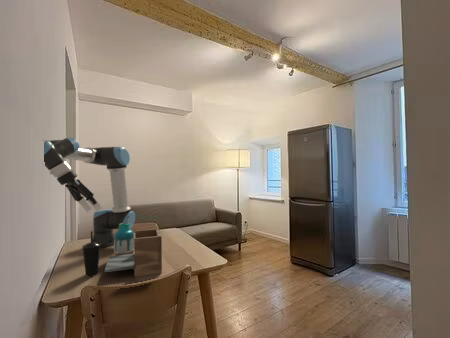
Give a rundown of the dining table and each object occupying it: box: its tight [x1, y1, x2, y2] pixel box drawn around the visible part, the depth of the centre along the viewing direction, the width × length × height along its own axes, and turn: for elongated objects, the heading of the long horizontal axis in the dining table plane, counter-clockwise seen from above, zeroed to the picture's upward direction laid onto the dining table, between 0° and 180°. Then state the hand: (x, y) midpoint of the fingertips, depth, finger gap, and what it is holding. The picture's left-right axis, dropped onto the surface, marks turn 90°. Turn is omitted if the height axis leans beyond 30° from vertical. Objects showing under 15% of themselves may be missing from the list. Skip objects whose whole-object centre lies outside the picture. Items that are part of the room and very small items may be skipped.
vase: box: [113, 223, 135, 256], centre depth 135 cm, size 11×11×19 cm
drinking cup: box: [81, 231, 101, 277], centre depth 114 cm, size 8×8×20 cm
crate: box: [104, 228, 163, 278], centre depth 119 cm, size 18×24×17 cm
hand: (94, 210), depth 116 cm, fingers open, 13 cm apart
